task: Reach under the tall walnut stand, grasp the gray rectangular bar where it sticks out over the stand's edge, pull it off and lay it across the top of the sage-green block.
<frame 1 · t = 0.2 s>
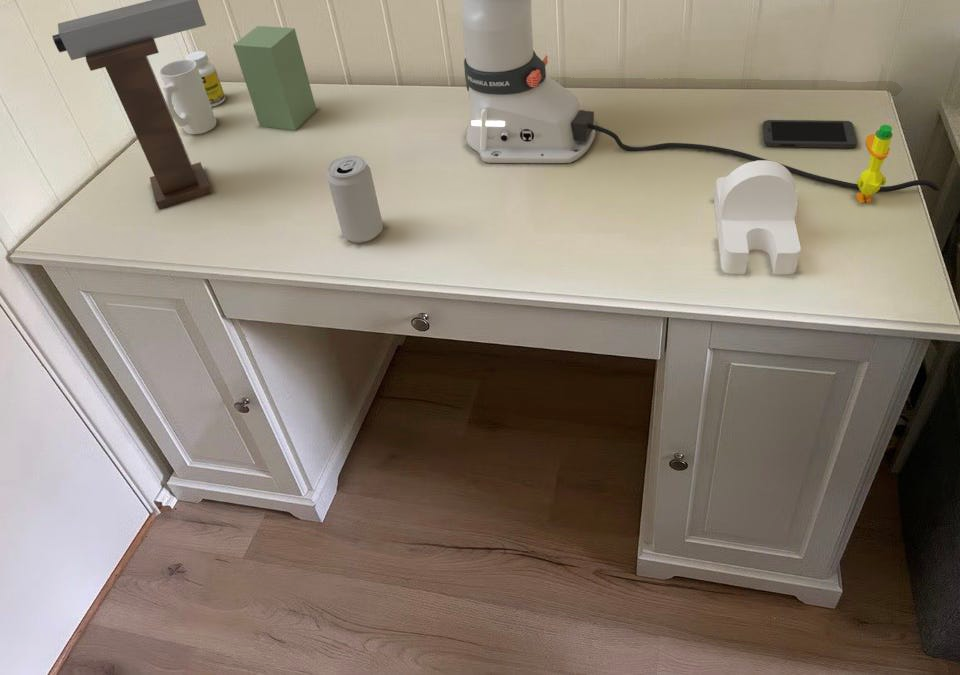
beverage can: (363, 233, 121), on the table
gray rectangular bar: (138, 37, 119), point 26 cm above the table, touching stand
stand: (181, 188, 136), on the table
white notched rounded piece: (752, 234, 111), on the table
mug: (196, 131, 151), on the table
cell phone: (807, 136, 128), on the table
block: (288, 117, 151), on the table
supplement bottle: (213, 102, 159), on the table
toy figure: (863, 199, 114), on the table
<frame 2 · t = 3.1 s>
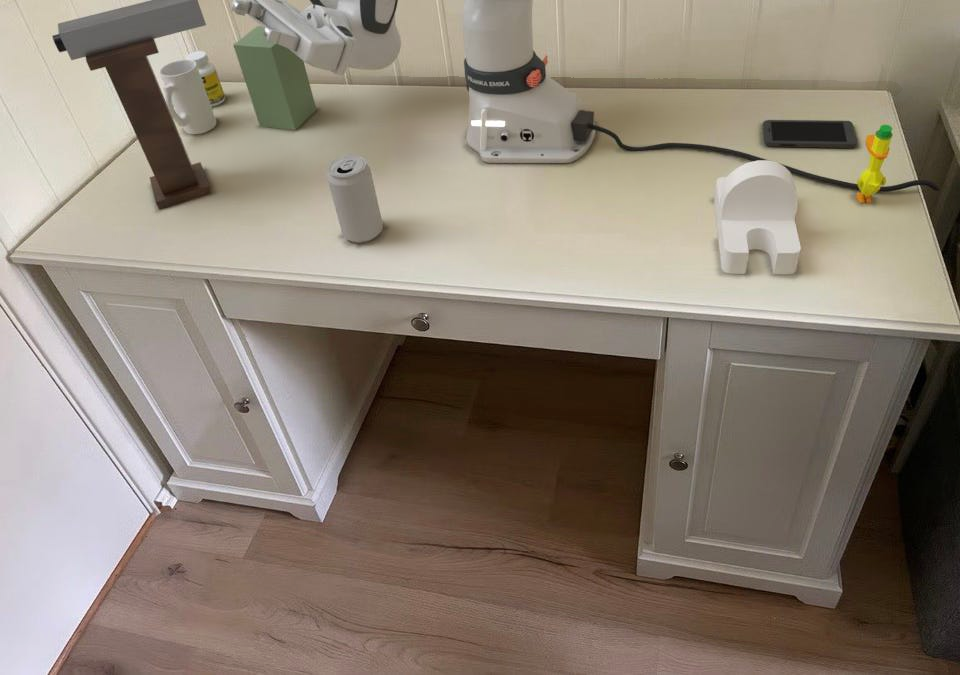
hand: (249, 19, 121), 25 cm above the table, tool pointing upward, fingers open, 8 cm apart
nothing on the table moved.
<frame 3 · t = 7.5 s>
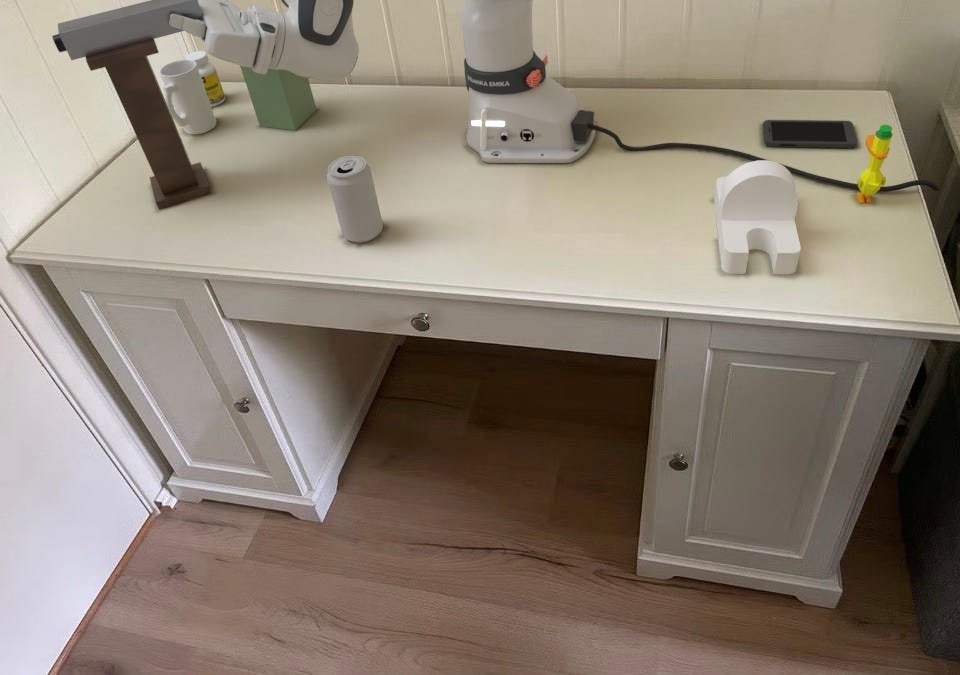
hand: (167, 12, 118), 28 cm above the table, tool pointing upward, fingers closed on gray rectangular bar, 4 cm apart
gray rectangular bar: (138, 37, 119), point 26 cm above the table, touching gripper, stand
everything else where it was.
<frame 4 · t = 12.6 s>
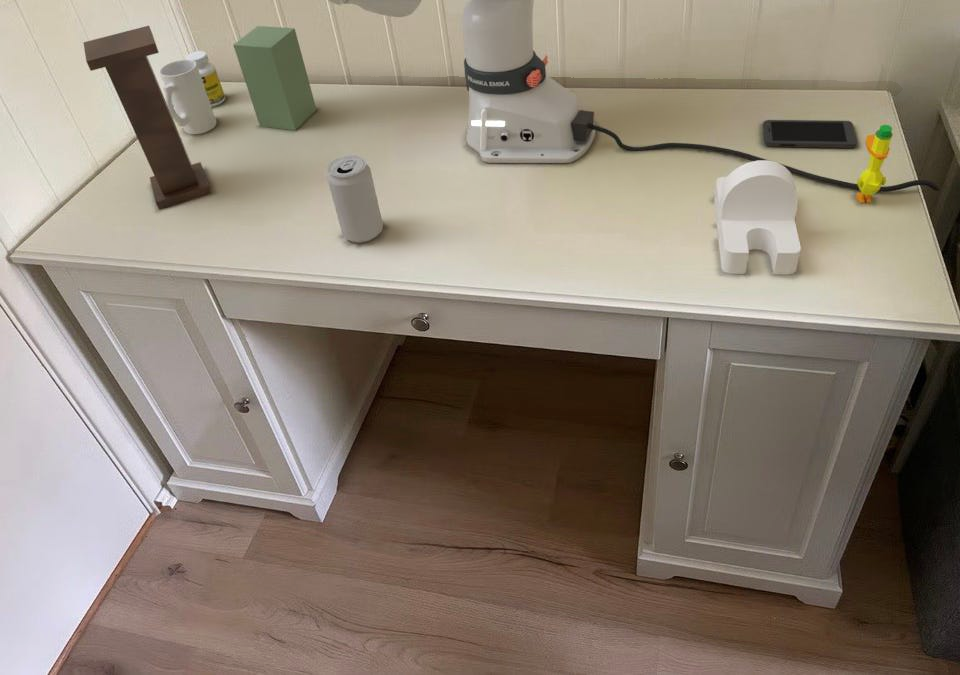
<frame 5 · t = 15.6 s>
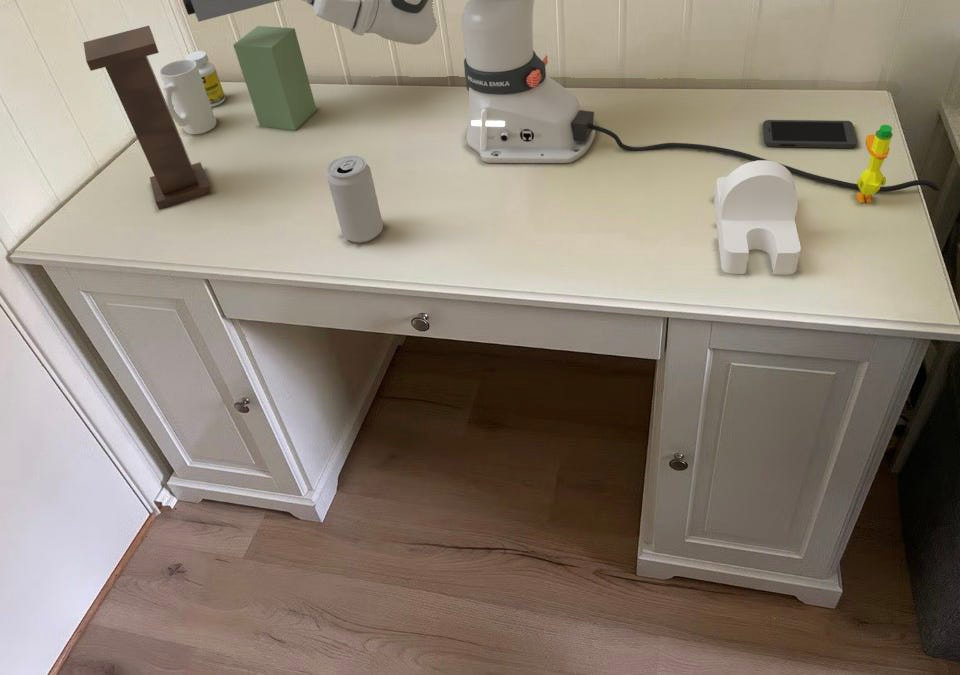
gray rectangular bar: (253, 2, 136), point 22 cm above the table, touching gripper
everything else where it was.
when the fingers open (18 cm above the table, at t = 17.8 s): gray rectangular bar stays where it is, resting on block.
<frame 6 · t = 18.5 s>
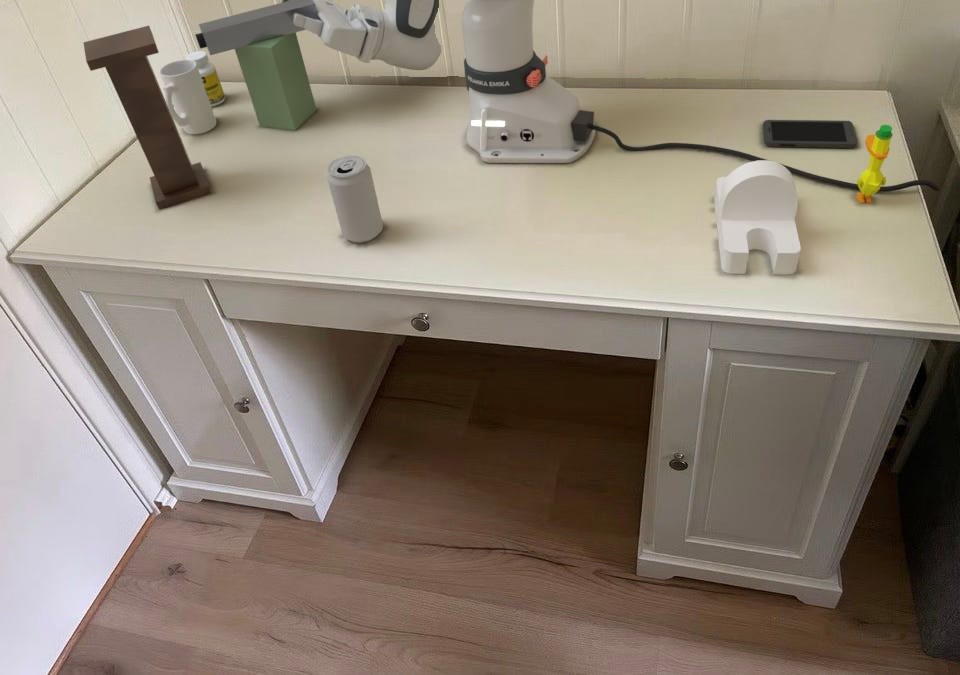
hand: (287, 10, 139), 19 cm above the table, tool pointing upward, fingers open, 8 cm apart
gray rectangular bar: (263, 36, 140), point 16 cm above the table, touching block
everything else where it was.
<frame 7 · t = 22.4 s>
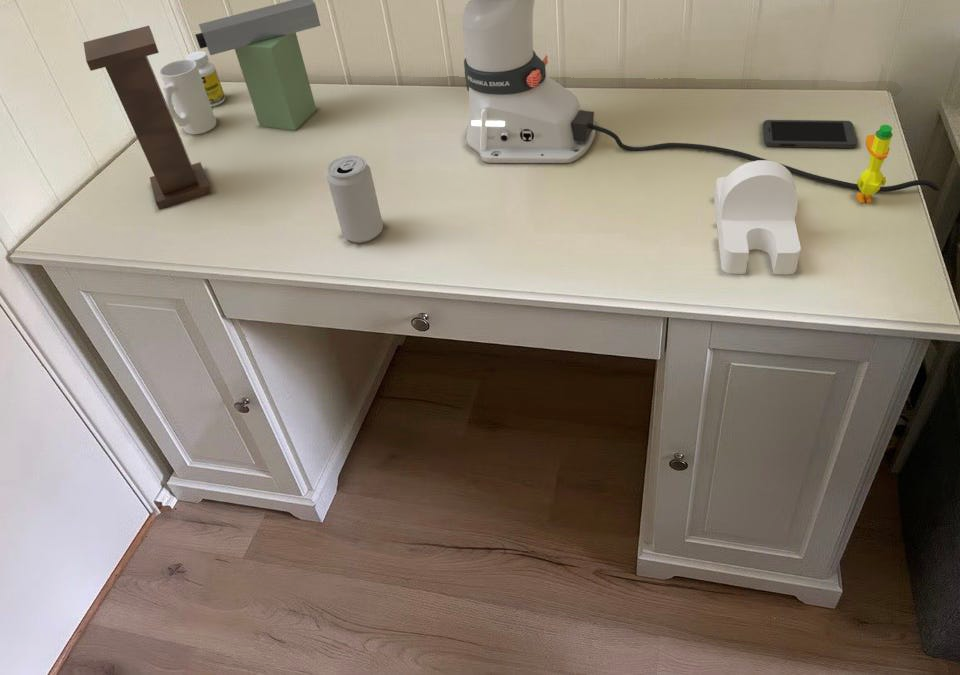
nothing on the table moved.
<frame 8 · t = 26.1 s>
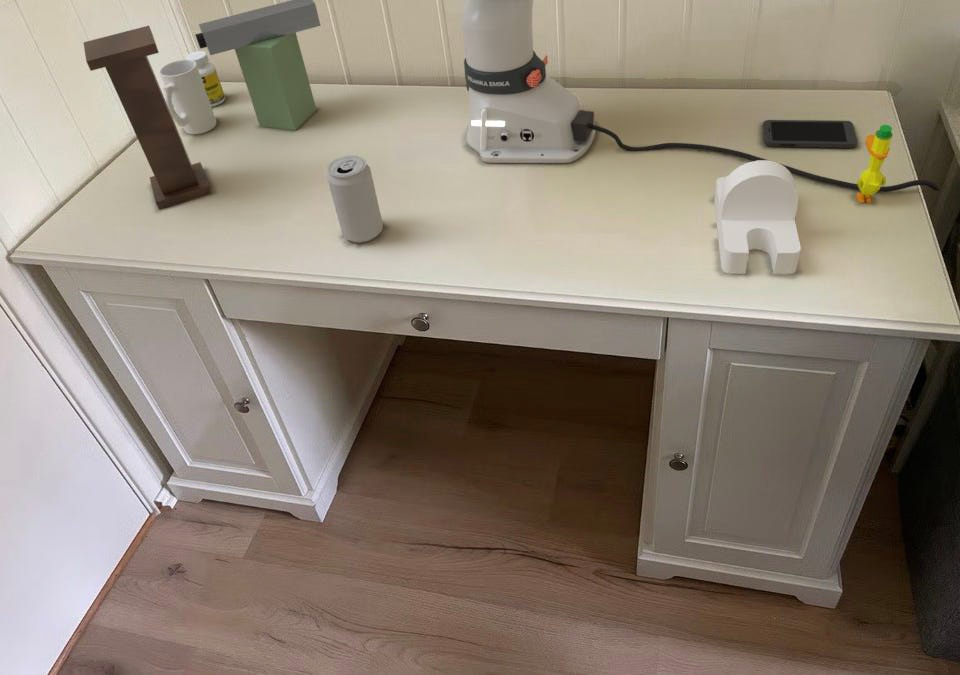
nothing on the table moved.
at the end: gray rectangular bar inside the target area on the block (0.1 cm from its centre), point 16.0 cm above the block's base; gray rectangular bar tilted 0°; the gripper is holding nothing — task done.
